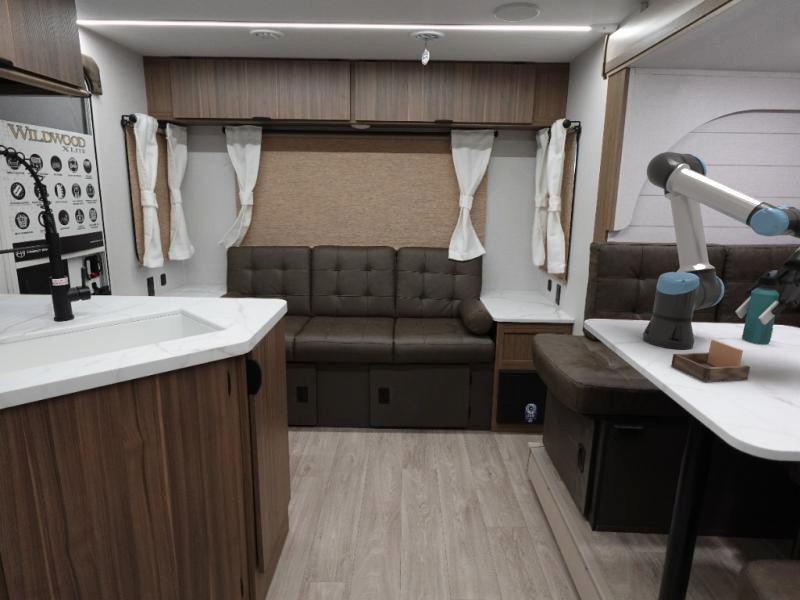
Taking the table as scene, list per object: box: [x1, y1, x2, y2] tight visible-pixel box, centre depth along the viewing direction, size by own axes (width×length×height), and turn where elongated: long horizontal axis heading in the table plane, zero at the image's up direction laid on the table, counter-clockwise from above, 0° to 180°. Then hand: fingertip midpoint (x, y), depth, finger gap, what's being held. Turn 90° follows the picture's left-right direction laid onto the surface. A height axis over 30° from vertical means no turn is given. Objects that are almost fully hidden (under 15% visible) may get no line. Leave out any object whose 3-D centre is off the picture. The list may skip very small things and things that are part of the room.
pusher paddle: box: [707, 339, 744, 367], centre depth 137 cm, size 1×9×7 cm, turn 13°
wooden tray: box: [670, 351, 751, 383], centre depth 137 cm, size 14×12×4 cm
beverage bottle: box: [741, 275, 780, 346], centre depth 136 cm, size 6×7×20 cm
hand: (749, 317), depth 135 cm, fingers closed on beverage bottle, 6 cm apart
